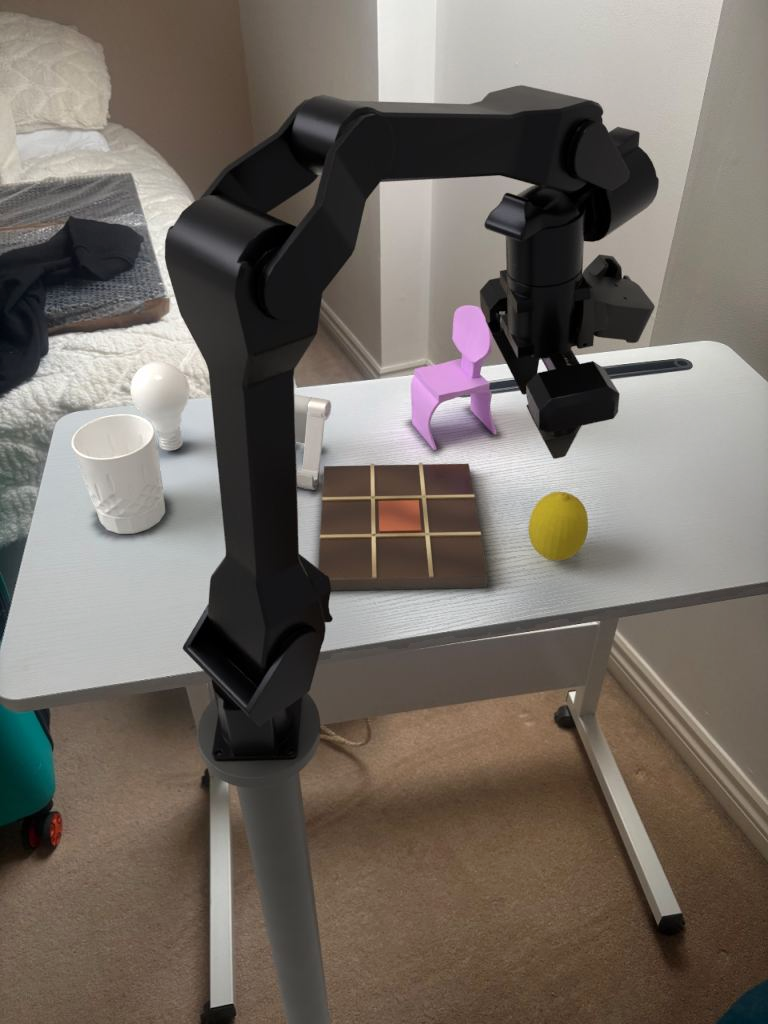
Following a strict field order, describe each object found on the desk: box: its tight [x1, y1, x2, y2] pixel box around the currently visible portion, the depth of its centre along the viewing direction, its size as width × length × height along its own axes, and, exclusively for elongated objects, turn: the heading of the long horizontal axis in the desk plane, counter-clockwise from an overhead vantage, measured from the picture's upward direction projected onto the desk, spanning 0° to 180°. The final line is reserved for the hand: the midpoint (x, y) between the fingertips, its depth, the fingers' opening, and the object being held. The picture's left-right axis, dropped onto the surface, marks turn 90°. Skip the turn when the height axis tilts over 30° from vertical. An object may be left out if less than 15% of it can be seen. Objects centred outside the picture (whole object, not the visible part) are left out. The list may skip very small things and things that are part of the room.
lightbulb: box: [129, 360, 191, 452], centre depth 93 cm, size 6×6×11 cm
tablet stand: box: [294, 393, 332, 491], centre depth 91 cm, size 9×8×8 cm
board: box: [317, 462, 489, 592], centre depth 85 cm, size 18×16×2 cm
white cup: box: [70, 413, 166, 535], centre depth 84 cm, size 8×8×10 cm
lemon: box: [528, 491, 589, 562], centre depth 79 cm, size 6×6×8 cm
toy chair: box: [410, 304, 498, 451], centre depth 95 cm, size 8×9×15 cm
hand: (542, 423), depth 74 cm, fingers open, 9 cm apart
